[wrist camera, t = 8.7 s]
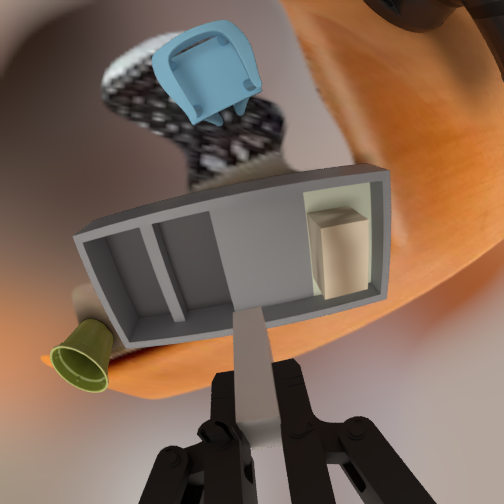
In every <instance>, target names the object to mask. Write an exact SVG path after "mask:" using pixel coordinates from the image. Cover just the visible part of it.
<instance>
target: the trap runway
mask: <svg viewBox="0 0 504 504" xmlns="http://www.w3.org/2000/svg"><path fill="white" fill-rule="evenodd" d="M345 206H350V207H351V208H352V209H354V210H355V211H357V212H358V213H360V214H361V215H363V216H364V217H366V218H367V219H368V220H369V267H368V289H366V290H362V291H358V292H354V293H350V294H346V295H342V296H338V297H334V298H330V299H326V300H325V298H324V296H323V294H322V293H321V291H320V289H319V287H318V285H317V283H316V282H315V280H314V278H313V273H312V261H311V251H310V241H309V231H308V222H307V213H310V212H316V211H322V210H327V209H333V208H339V207H345ZM73 239H74V241H75V244H76V246H77V249H78V252H79V254H80V257H81V259H82V262H83V264H84V266H85V269H86V271H87V273H88V276H89V278H90V280H91V282H92V284H93V287H94V289H95V291H96V293H97V295H98V297H99V299H100V301H101V303H102V305H103V307H104V309H105V311H106V313H107V315H108V317H109V319H110V321H111V323H112V325H113V326H114V328H115V330H116V332H117V334H118V335H119V337H120V339H121V341H122V342H123V344H124V346H125V348H126V349H129V348H140V347H150V346H159V345H167V344H175V343H183V342H191V341H198V340H204V339H211V338H217V337H223V336H229V335H233V312H237V311H242V310H247V309H251V308H256V307H261V308H262V312H263V316H264V320H265V324H266V328H272V327H277V326H282V325H287V324H291V323H296V322H300V321H305V320H309V319H313V318H317V317H322V316H326V315H330V314H334V313H338V312H341V311H345V310H349V309H353V308H356V307H360V306H364V305H367V304H371V303H374V302H378V301H381V300H384V299H387V291H388V280H389V266H390V247H391V187H390V170H387V169H384V168H380V167H377V166H374V165H370V164H367V163H365V164H356V165H348V166H339V167H332V168H324V169H317V170H311V171H304V172H298V173H291V174H285V175H279V176H274V177H268V178H263V179H257V180H252V181H247V182H242V183H237V184H232V185H227V186H222V187H218V188H213V189H208V190H204V191H200V192H195V193H191V194H187V195H183V196H179V197H175V198H170V199H167V200H163V201H159V202H155V203H151V204H148V205H144V206H140V207H136V208H133V209H129V210H126V211H122V212H119V213H115V214H112V215H109V216H105V217H102V218H99V219H96V220H93V221H92V222H90V223H89V224H88V225H87V226H85V227H84V228H83V229H81V230H80V231H79V232H77V233H76V234H75V235H74V236H73Z"/></svg>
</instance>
